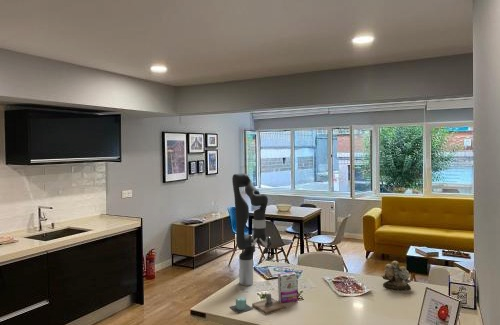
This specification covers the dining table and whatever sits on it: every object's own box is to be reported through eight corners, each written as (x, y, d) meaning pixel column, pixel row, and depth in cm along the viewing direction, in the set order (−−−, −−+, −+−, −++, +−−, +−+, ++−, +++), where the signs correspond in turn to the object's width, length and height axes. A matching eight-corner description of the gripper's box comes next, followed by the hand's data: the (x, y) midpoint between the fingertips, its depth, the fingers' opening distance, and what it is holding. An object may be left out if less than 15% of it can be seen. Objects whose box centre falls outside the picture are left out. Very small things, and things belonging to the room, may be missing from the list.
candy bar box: (295, 297, 230) (294, 271, 229) (298, 300, 225) (297, 274, 225) (277, 300, 227) (277, 273, 226) (280, 303, 222) (280, 276, 222)
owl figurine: (382, 289, 241) (382, 263, 240) (380, 283, 252) (379, 258, 252) (412, 291, 237) (412, 264, 237) (408, 284, 249) (408, 259, 248)
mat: (229, 307, 218) (229, 306, 218) (244, 303, 223) (244, 302, 223) (238, 313, 209) (238, 312, 209) (253, 309, 215) (253, 308, 215)
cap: (238, 304, 220) (238, 295, 220) (248, 306, 218) (247, 297, 217) (234, 308, 215) (233, 299, 215) (243, 310, 212) (243, 300, 212)
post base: (252, 305, 219) (252, 293, 219) (271, 300, 227) (271, 288, 227) (266, 314, 207) (266, 301, 207) (286, 308, 215) (285, 295, 215)
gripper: (272, 226, 230) (273, 252, 230) (252, 224, 236) (252, 250, 237) (267, 228, 223) (268, 255, 223) (246, 226, 229) (247, 253, 230)
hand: (260, 252), depth 230 cm, fingers open, 8 cm apart
